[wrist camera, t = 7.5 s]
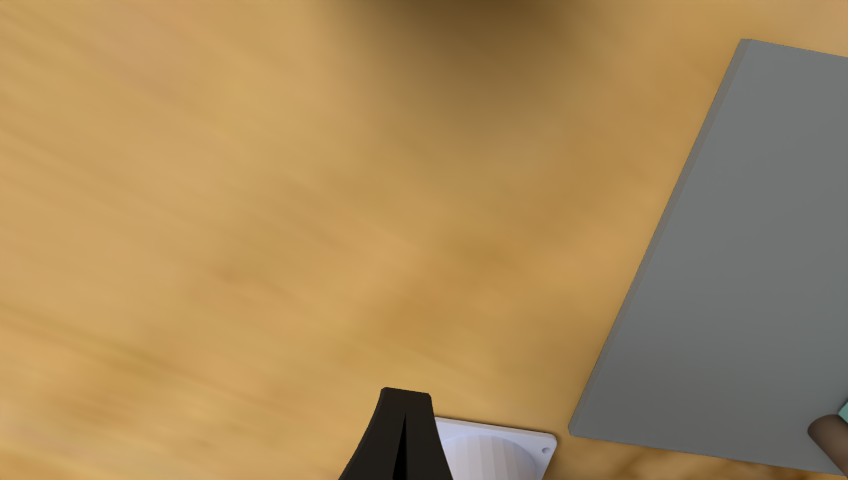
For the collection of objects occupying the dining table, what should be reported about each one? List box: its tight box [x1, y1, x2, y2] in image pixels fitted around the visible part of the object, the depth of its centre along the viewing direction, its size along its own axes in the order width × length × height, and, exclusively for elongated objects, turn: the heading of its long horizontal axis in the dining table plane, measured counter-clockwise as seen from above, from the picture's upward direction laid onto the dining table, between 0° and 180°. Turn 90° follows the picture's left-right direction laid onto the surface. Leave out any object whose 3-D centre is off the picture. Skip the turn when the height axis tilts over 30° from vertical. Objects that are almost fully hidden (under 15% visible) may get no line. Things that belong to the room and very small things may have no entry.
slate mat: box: [568, 39, 848, 476], centre depth 21 cm, size 21×17×1 cm
